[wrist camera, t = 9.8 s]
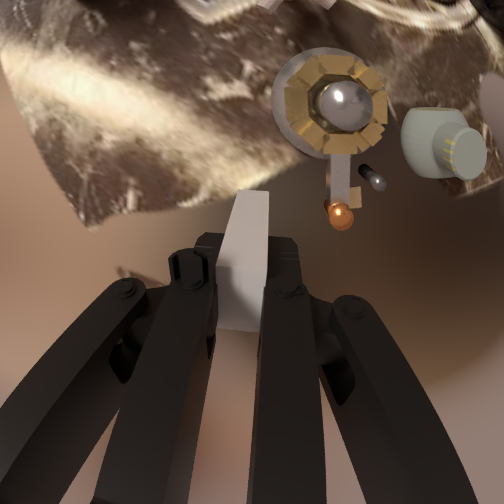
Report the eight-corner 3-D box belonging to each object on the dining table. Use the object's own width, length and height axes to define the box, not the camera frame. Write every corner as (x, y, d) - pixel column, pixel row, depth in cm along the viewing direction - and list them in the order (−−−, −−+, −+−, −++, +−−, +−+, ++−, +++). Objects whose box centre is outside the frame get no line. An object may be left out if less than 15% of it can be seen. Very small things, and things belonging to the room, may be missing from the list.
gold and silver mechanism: (374, 47, 23) (403, 38, 16) (390, 203, 34) (414, 230, 27) (259, 56, 25) (256, 43, 19) (291, 216, 36) (296, 248, 29)
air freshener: (395, 169, 31) (432, 197, 23) (388, 108, 27) (429, 116, 19) (457, 162, 29) (499, 188, 21) (453, 107, 25) (500, 118, 17)
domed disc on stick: (280, 58, 24) (282, 52, 20) (375, 62, 23) (390, 58, 19) (291, 216, 34) (294, 232, 31) (373, 213, 33) (385, 228, 30)
